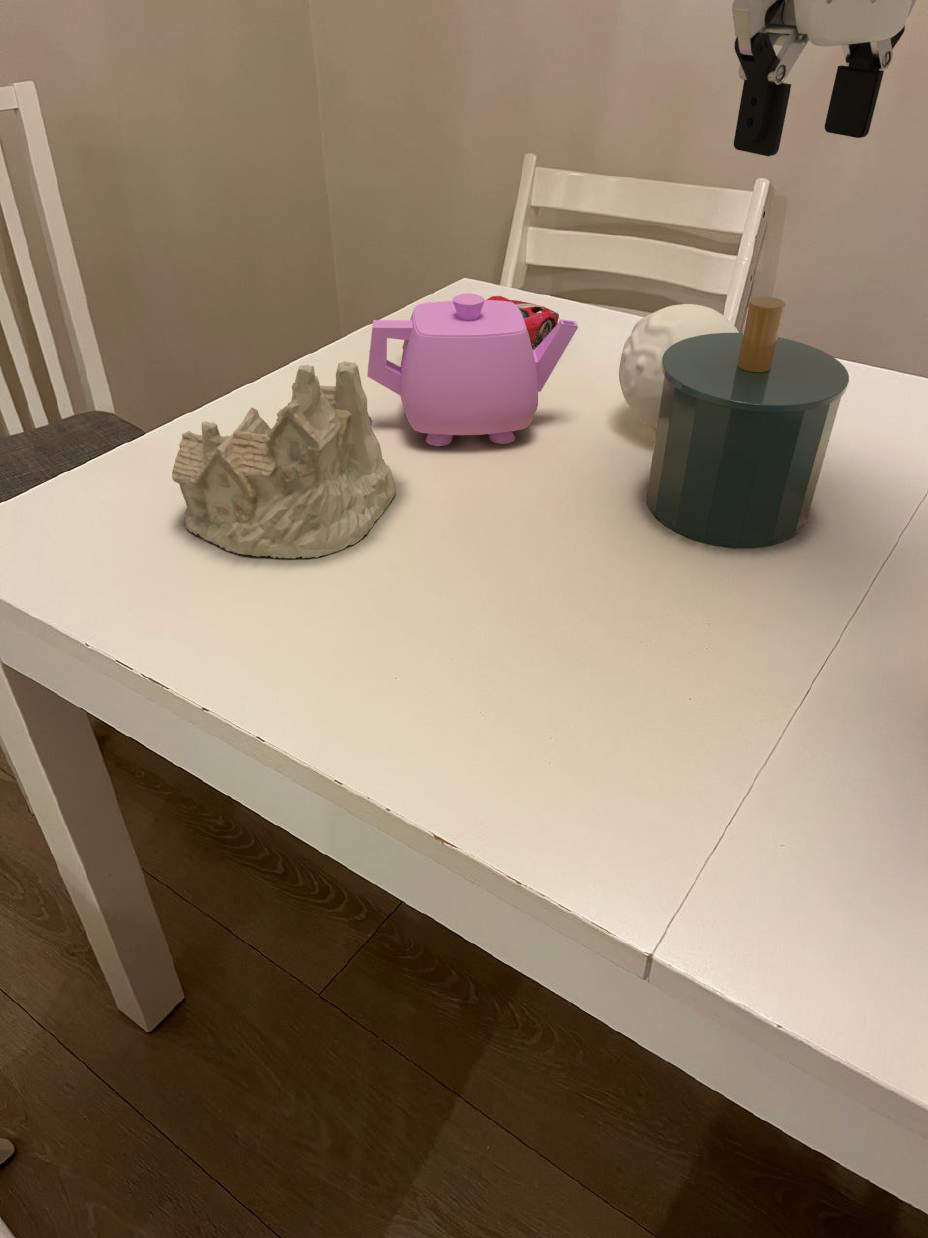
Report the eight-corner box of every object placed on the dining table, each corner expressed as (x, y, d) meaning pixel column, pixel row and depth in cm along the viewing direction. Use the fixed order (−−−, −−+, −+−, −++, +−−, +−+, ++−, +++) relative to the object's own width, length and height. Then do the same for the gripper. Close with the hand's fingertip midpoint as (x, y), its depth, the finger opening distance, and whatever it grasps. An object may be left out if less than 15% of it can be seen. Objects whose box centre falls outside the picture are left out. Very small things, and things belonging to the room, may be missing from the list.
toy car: (571, 333, 110) (575, 292, 107) (454, 389, 97) (454, 344, 94) (511, 315, 114) (512, 275, 111) (392, 366, 102) (389, 323, 99)
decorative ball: (592, 411, 93) (604, 294, 85) (694, 394, 96) (714, 280, 88) (648, 464, 84) (667, 338, 76) (759, 444, 87) (786, 322, 80)
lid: (799, 342, 77) (817, 268, 74) (878, 415, 66) (904, 332, 62) (639, 349, 76) (648, 275, 72) (692, 425, 65) (707, 341, 61)
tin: (769, 463, 84) (799, 337, 77) (832, 542, 74) (874, 405, 66) (629, 471, 83) (646, 344, 75) (673, 553, 72) (698, 415, 65)
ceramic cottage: (420, 481, 81) (400, 316, 71) (320, 584, 70) (281, 404, 60) (278, 455, 87) (243, 299, 77) (165, 546, 76) (108, 377, 66)
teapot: (371, 457, 85) (362, 324, 77) (370, 401, 94) (362, 277, 87) (580, 449, 86) (593, 318, 78) (559, 394, 96) (567, 272, 88)
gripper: (837, -216, 44) (764, 170, 54) (1019, -196, 52) (924, 136, 62) (717, -204, 48) (671, 149, 59) (901, -187, 56) (831, 120, 67)
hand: (801, 142), depth 61 cm, fingers open, 9 cm apart
